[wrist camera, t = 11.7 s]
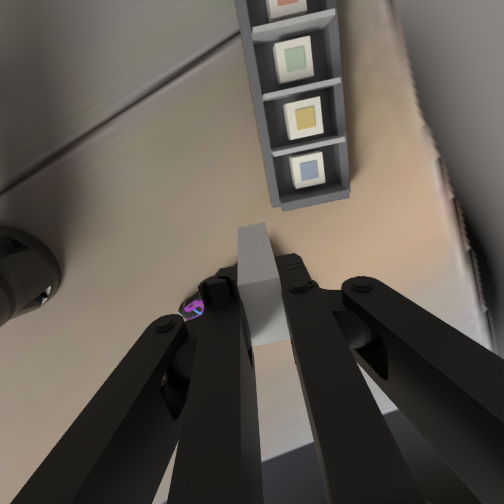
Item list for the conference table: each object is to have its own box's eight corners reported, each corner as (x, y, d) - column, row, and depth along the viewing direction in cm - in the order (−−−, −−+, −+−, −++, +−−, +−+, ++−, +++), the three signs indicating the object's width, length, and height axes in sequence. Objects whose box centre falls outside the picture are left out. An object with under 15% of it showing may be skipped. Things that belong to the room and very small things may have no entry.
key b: (293, 185, 47) (296, 189, 44) (288, 156, 45) (291, 158, 43) (321, 179, 47) (325, 182, 44) (317, 150, 45) (322, 152, 43)
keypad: (270, 203, 49) (275, 213, 43) (228, -30, 37) (227, -57, 32) (344, 188, 49) (357, 196, 43) (324, -53, 37) (339, -85, 31)
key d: (288, 139, 43) (291, 140, 40) (283, 105, 41) (285, 103, 38) (318, 132, 42) (323, 132, 40) (315, 98, 41) (320, 96, 38)
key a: (278, 85, 42) (280, 82, 39) (272, 48, 40) (275, 43, 37) (309, 78, 41) (314, 75, 39) (305, 40, 40) (310, 35, 37)
